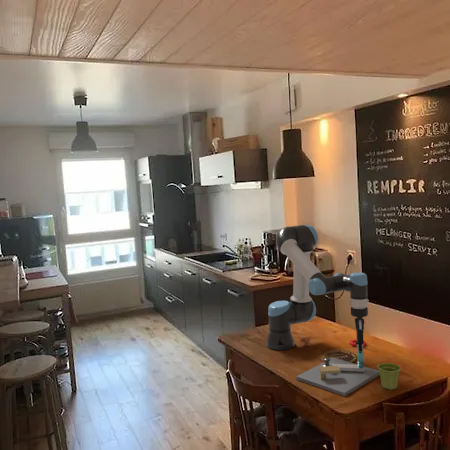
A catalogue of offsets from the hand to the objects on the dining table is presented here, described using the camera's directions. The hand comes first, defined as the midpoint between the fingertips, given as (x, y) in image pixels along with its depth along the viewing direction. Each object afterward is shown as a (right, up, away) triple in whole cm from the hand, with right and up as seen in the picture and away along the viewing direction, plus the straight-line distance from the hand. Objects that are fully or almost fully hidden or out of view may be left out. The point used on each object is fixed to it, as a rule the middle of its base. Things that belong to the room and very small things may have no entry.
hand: (360, 357), depth 218 cm
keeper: (-16, -7, -9) cm, 20 cm away
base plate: (-11, -8, -5) cm, 14 cm away
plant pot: (+7, -8, -17) cm, 20 cm away
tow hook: (+9, -3, +36) cm, 37 cm away
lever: (-9, -5, -2) cm, 10 cm away
